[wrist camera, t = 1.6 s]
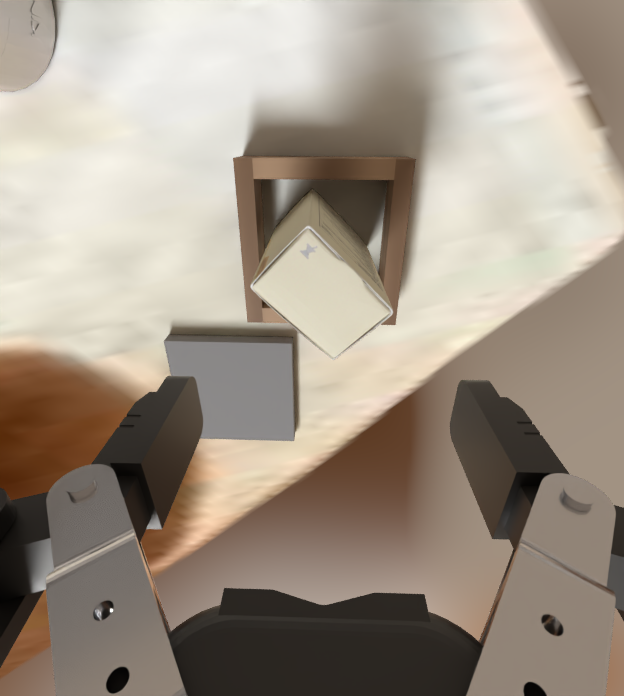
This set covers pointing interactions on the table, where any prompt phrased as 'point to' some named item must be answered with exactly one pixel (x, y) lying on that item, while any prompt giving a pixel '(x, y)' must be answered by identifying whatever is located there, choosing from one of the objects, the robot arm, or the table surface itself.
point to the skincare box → (321, 278)
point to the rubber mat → (239, 383)
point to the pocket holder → (328, 168)
